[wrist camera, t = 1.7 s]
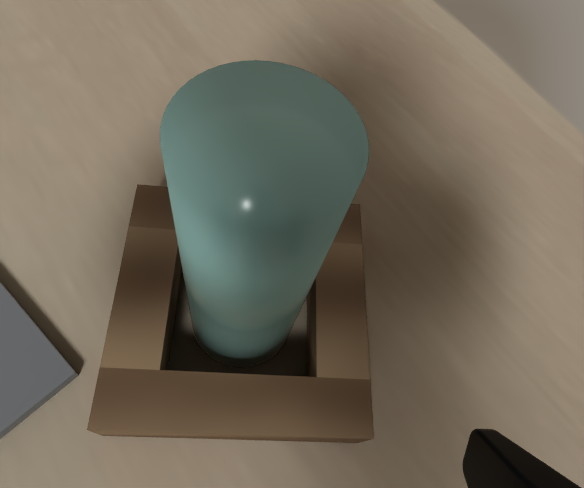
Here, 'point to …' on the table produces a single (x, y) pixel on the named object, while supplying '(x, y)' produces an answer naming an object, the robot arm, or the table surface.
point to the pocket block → (231, 386)
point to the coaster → (26, 364)
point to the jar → (257, 197)
